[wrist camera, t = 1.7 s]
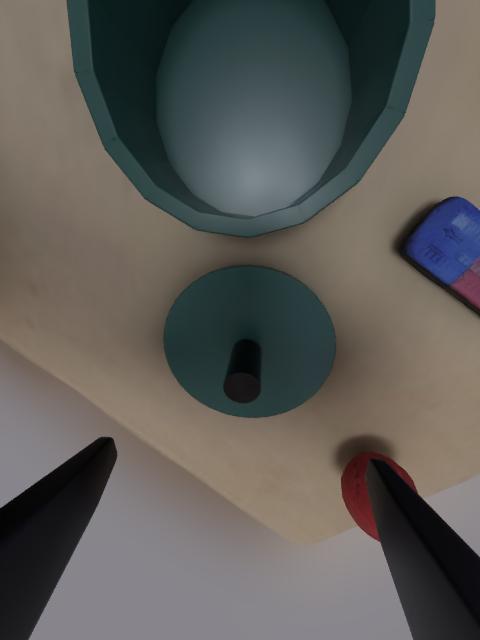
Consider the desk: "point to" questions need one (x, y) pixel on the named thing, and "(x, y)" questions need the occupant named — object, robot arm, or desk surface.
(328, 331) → the lid
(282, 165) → the pot
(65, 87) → the desk surface
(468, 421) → the desk surface
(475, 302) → the eraser
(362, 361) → the desk surface
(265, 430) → the desk surface
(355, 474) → the onion
